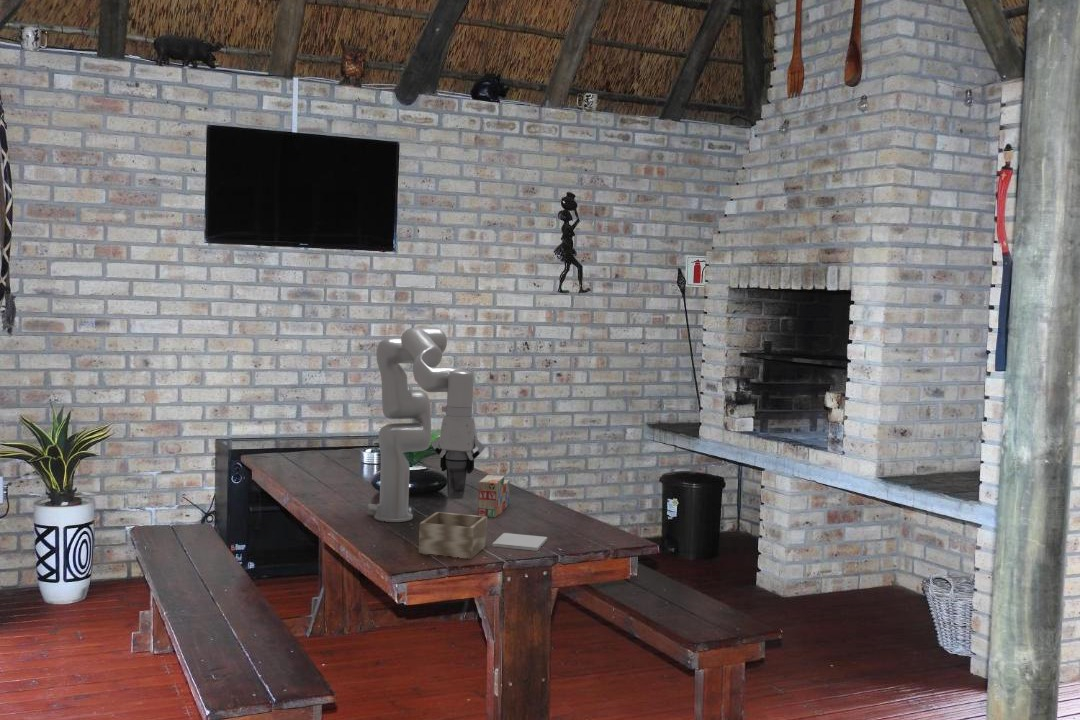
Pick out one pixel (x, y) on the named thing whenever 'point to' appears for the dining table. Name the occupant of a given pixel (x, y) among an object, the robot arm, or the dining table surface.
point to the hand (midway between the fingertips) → (456, 471)
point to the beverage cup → (456, 473)
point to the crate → (453, 535)
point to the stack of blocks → (493, 495)
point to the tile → (519, 541)
